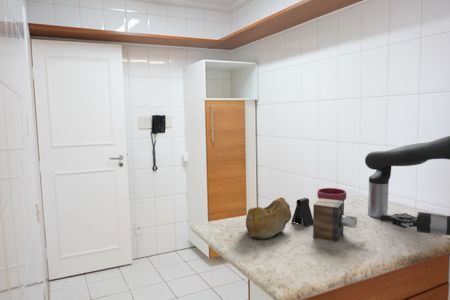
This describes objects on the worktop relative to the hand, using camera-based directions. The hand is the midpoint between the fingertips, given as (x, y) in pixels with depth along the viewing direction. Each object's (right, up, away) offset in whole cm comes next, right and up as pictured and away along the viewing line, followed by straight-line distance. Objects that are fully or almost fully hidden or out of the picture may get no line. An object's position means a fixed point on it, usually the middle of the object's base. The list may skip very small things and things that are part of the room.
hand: (380, 217), depth 132 cm
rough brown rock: (-44, -10, +17) cm, 48 cm away
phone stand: (-24, -9, +29) cm, 39 cm away
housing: (-17, -10, +12) cm, 23 cm away
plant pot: (-6, -7, +41) cm, 42 cm away
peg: (-12, -5, +8) cm, 15 cm away
